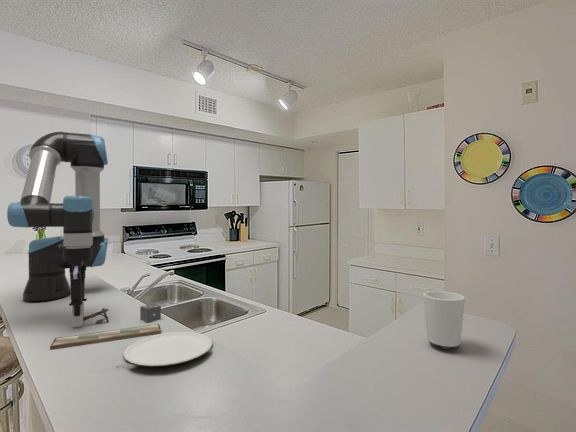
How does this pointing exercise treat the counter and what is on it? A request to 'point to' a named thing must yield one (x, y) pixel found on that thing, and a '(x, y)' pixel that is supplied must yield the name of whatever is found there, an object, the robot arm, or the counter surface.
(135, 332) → the board
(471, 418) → the counter surface
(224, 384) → the counter surface
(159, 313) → the die
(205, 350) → the plate
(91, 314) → the lantern lamp post
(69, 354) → the counter surface
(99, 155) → the robot arm
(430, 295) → the cup
